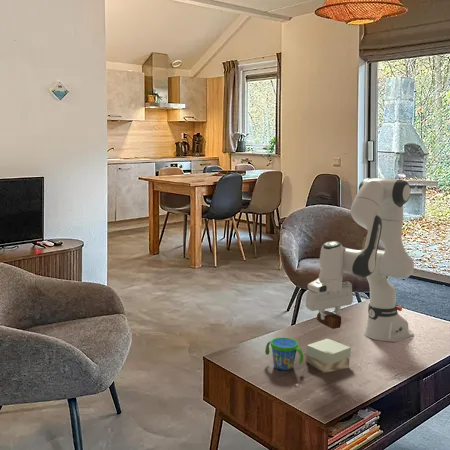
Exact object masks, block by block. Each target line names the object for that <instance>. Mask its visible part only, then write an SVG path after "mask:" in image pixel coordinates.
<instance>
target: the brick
mask: <svg viewBox="0 0 450 450" xmlns="http://www.w3.org/2000/svg"><path fill="white" fill-rule="evenodd" d="M332 312H333V311H332ZM332 312H331V311H329V310H325V311H324V314H325V315H327V317H326V318H327V319H325V320H322V319H321V314H320V312H319V311H318V313H317V315H316V320H317V322H319V323H320V324H322V325H324V326H326V327H328V328H330V329H332V330H334V329H340V328H341V325H342V316H340V315H339V314H338V315H336V314H334V313H332Z"/></svg>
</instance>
